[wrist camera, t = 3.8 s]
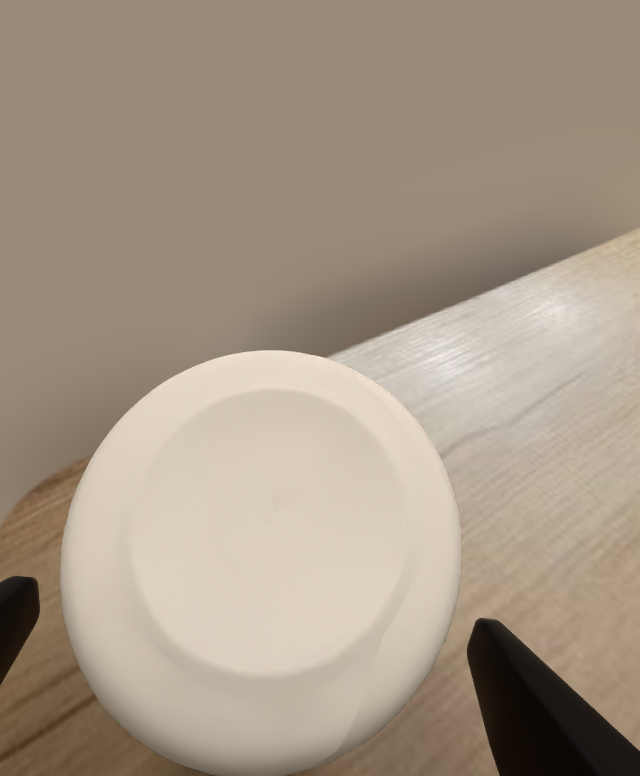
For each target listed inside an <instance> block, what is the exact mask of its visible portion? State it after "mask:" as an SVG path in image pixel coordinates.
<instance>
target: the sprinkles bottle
mask: <svg viewBox="0 0 640 776" xmlns="http://www.w3.org/2000/svg"><path fill="white" fill-rule="evenodd" d="M461 569H462V541H461V528H460V520H459V513H458V508H457V502H456V498H455V495H454V492H453V489H452V486H451V483H450V480H449V477H448V474H447V472H446V470H445V467H444V465H443V463H442V460H441V458H440V456H439V454H438V452H437V451H436V449H435V447H434V445H433V444H432V442H431V440H430V438H429V437H428V435H427V434H426V432H425V431H424V430H423V428H422V427H421V426H420V424H419V423H418V422H417V420H416V419H415V418H414V417H413V416H412V415H411V413H410V412H409V411H408V410H407V409H406V408H405V407H404V406H403V405H402V404H401V403H400V402H399V401H398V400H397V399H396V398H395V397H394V396H393V395H392V394H391V393H389V392H388V391H387V390H385V389H384V388H382V387H381V386H380V385H378V384H377V383H376V382H374V381H372V380H371V379H369V378H368V377H366V376H364V375H362V374H361V373H359V372H357V371H355V370H353V369H351V368H349V367H347V366H345V365H342V364H340V363H337V362H334V361H332V360H329V359H326V358H322V357H318V356H313V355H309V354H304V353H299V352H291V351H269V350H268V351H252V352H243V353H238V354H232V355H228V356H223V357H220V358H216V359H213V360H210V361H207V362H205V363H202V364H199V365H197V366H194V367H192V368H190V369H188V370H186V371H184V372H182V373H180V374H178V375H176V376H174V377H172V378H170V379H169V380H167V381H165V382H164V383H162V384H161V385H159V386H158V387H156V388H155V389H153V390H152V391H151V392H150V393H148V394H147V395H146V396H145V397H144V398H142V399H141V400H140V401H139V402H138V403H137V404H136V405H134V406H133V407H132V408H131V409H130V410H129V411H128V412H127V413H126V414H125V415H124V416H123V417H122V418H121V419H120V420H119V421H118V422H117V424H116V425H115V426H114V427H113V428H112V430H111V431H110V432H109V434H108V435H107V436H106V437H105V439H104V440H103V442H102V443H101V445H100V446H99V448H98V449H97V450H96V452H95V453H94V455H93V457H92V459H91V460H90V462H89V464H88V466H87V468H86V470H85V472H84V474H83V476H82V478H81V480H80V482H79V484H78V487H77V489H76V492H75V494H74V497H73V500H72V502H71V505H70V508H69V515H68V518H67V522H66V525H65V528H64V535H63V542H62V546H61V567H60V591H61V602H62V611H63V617H64V621H65V625H66V628H67V632H68V636H69V640H70V644H71V647H72V650H73V652H74V655H75V657H76V660H77V662H78V665H79V667H80V670H81V671H82V673H83V675H84V677H85V679H86V681H87V683H88V685H89V686H90V688H91V690H92V691H93V692H94V694H95V695H96V697H97V698H98V700H99V702H100V703H101V704H102V705H103V707H104V708H105V709H106V710H107V711H108V712H109V713H110V715H111V716H112V717H113V718H114V719H115V720H116V721H117V722H118V723H119V724H120V725H121V726H122V727H123V728H124V729H126V730H127V731H128V732H129V733H130V734H131V735H132V736H133V737H134V738H135V739H136V740H138V741H139V742H141V743H142V744H144V745H145V746H147V747H148V748H150V749H151V750H152V751H154V752H155V753H157V754H158V755H160V756H162V757H164V758H166V759H169V760H171V761H173V762H175V763H177V764H179V765H182V766H185V767H189V768H192V769H195V770H198V771H201V772H204V773H207V774H212V775H218V776H287V775H290V774H292V773H295V772H301V771H306V770H309V769H312V768H315V767H318V766H321V765H324V764H327V763H329V762H331V761H333V760H335V759H337V758H339V757H341V756H343V755H345V754H347V753H349V752H350V751H352V750H354V749H355V748H357V747H358V746H360V745H362V744H363V743H365V742H366V741H367V740H369V739H370V738H371V737H372V736H374V735H375V734H376V733H378V732H379V731H380V730H381V729H382V728H383V727H384V726H385V725H386V724H387V723H388V722H389V721H390V720H391V719H393V718H394V717H395V716H396V715H397V714H398V712H399V711H400V710H401V709H402V708H403V707H404V706H405V704H406V703H407V702H408V701H409V700H410V699H411V697H412V696H413V695H414V693H415V692H416V691H417V689H418V688H419V687H420V685H421V684H422V683H423V681H424V680H425V679H426V677H427V676H428V675H429V673H430V671H431V669H432V667H433V665H434V664H435V662H436V659H437V657H438V654H439V652H440V649H441V647H442V645H443V644H444V642H445V640H446V637H447V634H448V631H449V627H450V624H451V621H452V618H453V615H454V611H455V608H456V603H457V598H458V593H459V587H460V580H461Z"/></svg>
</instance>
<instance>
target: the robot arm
mask: <svg viewBox="0 0 640 776" xmlns="http://www.w3.org/2000/svg"><path fill="white" fill-rule="evenodd" d="M39 613H40V602H39V590H38V582H37V580H36V579H35V578H33V577H23V576H13V577H10V578H8V579H6V580H4V581H2V582H0V685H1V683H2V682H3V680H4V678H5V676H6V675H7V673H8V671H9V669H10V668H11V666H12V664H13V662H14V661H15V659H16V657H17V656H18V654H19V652H20V650H21V649H22V647H23V645H24V643H25V642H26V640H27V638H28V637H29V635H30V633H31V631H32V630H33V628H34V626H35V624H36V622H37V620H38V617H39ZM467 658H468V662H469V666H470V670H471V674H472V678H473V682H474V686H475V690H476V694H477V698H478V702H479V706H480V709H481V713H482V717H483V721H484V725H485V729H486V733H487V737H488V740H489V744H490V747H491V751H492V754H493V757H494V760H495V763H496V766H497V769H498V772H499V775H500V776H640V751H639V750H638V749H637V748H636V747H635V746H633V745H632V744H631V743H630V742H629V741H628V740H627V739H626V738H625V737H624V736H623V735H622V734H621V733H619V732H618V731H617V730H616V729H615V728H614V727H613V726H612V725H611V724H610V723H609V722H608V721H607V720H605V719H604V718H603V717H602V716H601V715H600V714H599V713H598V712H597V711H596V710H595V709H594V708H593V707H591V706H590V705H589V704H588V703H587V702H586V701H585V700H584V699H583V698H582V697H581V696H580V695H579V694H577V693H576V692H575V691H574V690H573V689H572V688H571V687H570V686H569V685H568V684H567V683H566V682H565V681H563V680H562V679H561V678H560V677H559V676H558V675H557V674H556V673H555V672H554V671H553V670H552V669H550V668H549V667H548V666H547V665H546V664H545V663H544V662H543V661H542V660H541V659H540V658H539V657H538V656H536V655H535V654H534V653H533V652H532V651H531V650H530V649H529V648H528V647H527V646H526V645H525V644H524V643H522V642H521V641H520V640H519V639H518V638H517V637H516V636H515V635H514V634H513V633H512V632H511V631H510V630H508V629H507V628H506V627H505V626H504V625H503V624H502V623H501V622H499V621H498V620H495V619H486V618H479V619H478V620H477V621H476V622H475V625H474V628H473V631H472V634H471V637H470V640H469V643H468V646H467Z"/></svg>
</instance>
